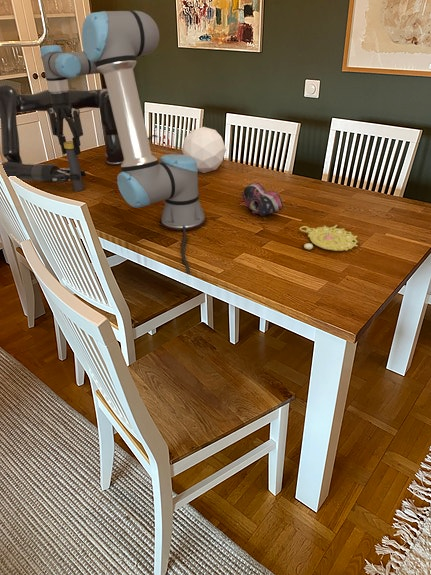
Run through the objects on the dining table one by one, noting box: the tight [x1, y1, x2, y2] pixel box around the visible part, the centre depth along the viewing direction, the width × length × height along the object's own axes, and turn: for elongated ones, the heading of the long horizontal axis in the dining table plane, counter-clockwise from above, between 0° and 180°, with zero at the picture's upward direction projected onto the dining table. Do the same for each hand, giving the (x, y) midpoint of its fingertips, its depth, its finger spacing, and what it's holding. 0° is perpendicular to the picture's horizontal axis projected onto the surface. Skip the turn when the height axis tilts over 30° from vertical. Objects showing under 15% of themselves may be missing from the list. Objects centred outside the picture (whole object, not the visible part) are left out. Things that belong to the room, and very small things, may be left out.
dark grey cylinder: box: [65, 148, 85, 192], centre depth 182 cm, size 4×4×19 cm
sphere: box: [181, 126, 227, 174], centre depth 199 cm, size 19×20×20 cm
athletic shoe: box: [238, 182, 284, 217], centre depth 160 cm, size 11×22×12 cm
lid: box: [64, 140, 74, 149], centre depth 177 cm, size 5×5×2 cm
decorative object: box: [299, 224, 359, 252], centre depth 141 cm, size 21×2×20 cm
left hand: (82, 175), depth 184 cm, fingers closed on dark grey cylinder, 4 cm apart
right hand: (71, 153), depth 179 cm, fingers open, 5 cm apart
